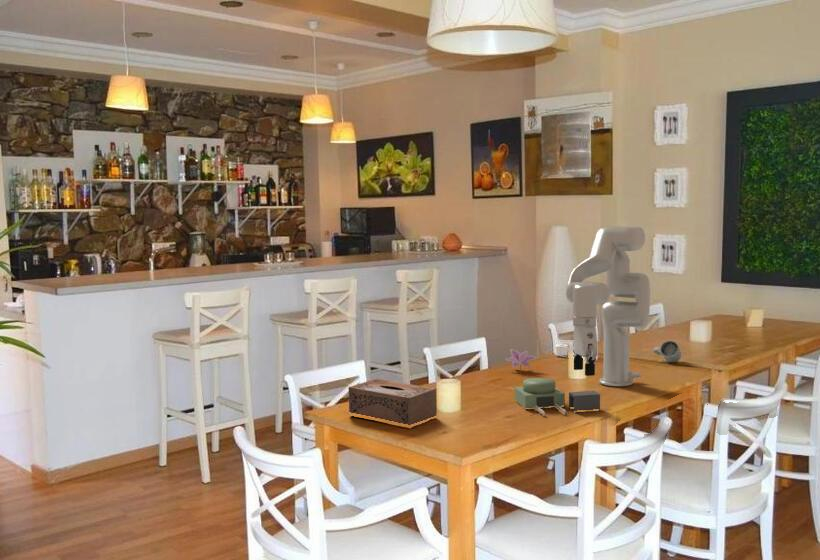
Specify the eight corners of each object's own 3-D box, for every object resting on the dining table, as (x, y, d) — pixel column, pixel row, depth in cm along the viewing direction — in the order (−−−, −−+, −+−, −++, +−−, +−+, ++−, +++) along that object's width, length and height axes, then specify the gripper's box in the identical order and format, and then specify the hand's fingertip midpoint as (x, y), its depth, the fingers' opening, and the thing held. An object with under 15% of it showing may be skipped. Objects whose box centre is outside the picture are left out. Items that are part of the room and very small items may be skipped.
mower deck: (552, 398, 271) (552, 376, 270) (574, 414, 250) (574, 390, 249) (514, 401, 268) (514, 378, 268) (533, 417, 248) (533, 393, 247)
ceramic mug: (676, 366, 325) (686, 352, 326) (671, 359, 319) (682, 345, 319) (654, 355, 332) (664, 340, 332) (650, 348, 326) (660, 333, 326)
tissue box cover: (349, 416, 255) (348, 387, 254) (377, 406, 266) (376, 378, 265) (410, 429, 239) (409, 398, 238) (436, 418, 250) (436, 388, 249)
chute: (568, 409, 257) (568, 392, 256) (594, 407, 258) (594, 390, 257) (574, 413, 252) (574, 395, 251) (600, 411, 253) (600, 394, 252)
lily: (542, 372, 313) (538, 349, 317) (525, 368, 305) (522, 345, 308) (518, 378, 321) (515, 356, 324) (501, 374, 313) (499, 352, 316)
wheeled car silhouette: (549, 357, 343) (549, 341, 342) (565, 353, 350) (565, 338, 349) (584, 363, 327) (584, 347, 327) (601, 360, 334) (601, 343, 334)
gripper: (606, 324, 244) (605, 377, 245) (585, 318, 261) (584, 367, 262) (583, 325, 242) (583, 378, 244) (564, 318, 260) (563, 368, 261)
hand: (583, 372), depth 253 cm, fingers open, 9 cm apart
